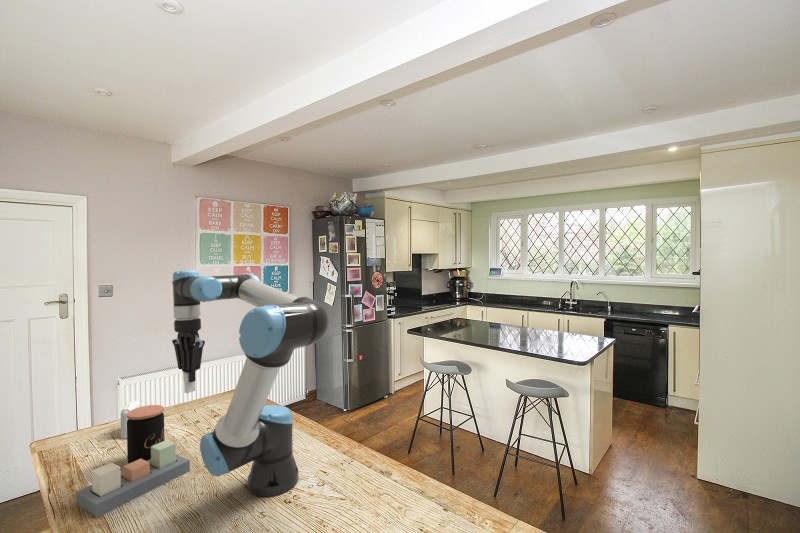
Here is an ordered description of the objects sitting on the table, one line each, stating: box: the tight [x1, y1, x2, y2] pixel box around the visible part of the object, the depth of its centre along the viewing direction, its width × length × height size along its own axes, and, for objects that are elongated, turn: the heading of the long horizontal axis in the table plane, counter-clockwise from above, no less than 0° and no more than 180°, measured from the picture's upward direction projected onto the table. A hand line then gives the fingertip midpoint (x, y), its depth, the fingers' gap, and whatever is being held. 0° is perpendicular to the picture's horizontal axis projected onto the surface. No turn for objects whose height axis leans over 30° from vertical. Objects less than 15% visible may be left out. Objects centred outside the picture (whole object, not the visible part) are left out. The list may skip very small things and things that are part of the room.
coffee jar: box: [126, 404, 166, 464], centre depth 131 cm, size 11×11×18 cm
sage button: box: [151, 439, 177, 469], centre depth 125 cm, size 5×5×6 cm
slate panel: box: [75, 454, 191, 518], centre depth 118 cm, size 12×26×4 cm, turn 151°
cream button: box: [91, 462, 121, 497], centre depth 111 cm, size 5×5×6 cm
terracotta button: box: [122, 459, 150, 483], centre depth 118 cm, size 5×5×6 cm
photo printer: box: [120, 400, 142, 440], centre depth 153 cm, size 10×4×12 cm, turn 13°
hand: (190, 391), depth 123 cm, fingers closed
